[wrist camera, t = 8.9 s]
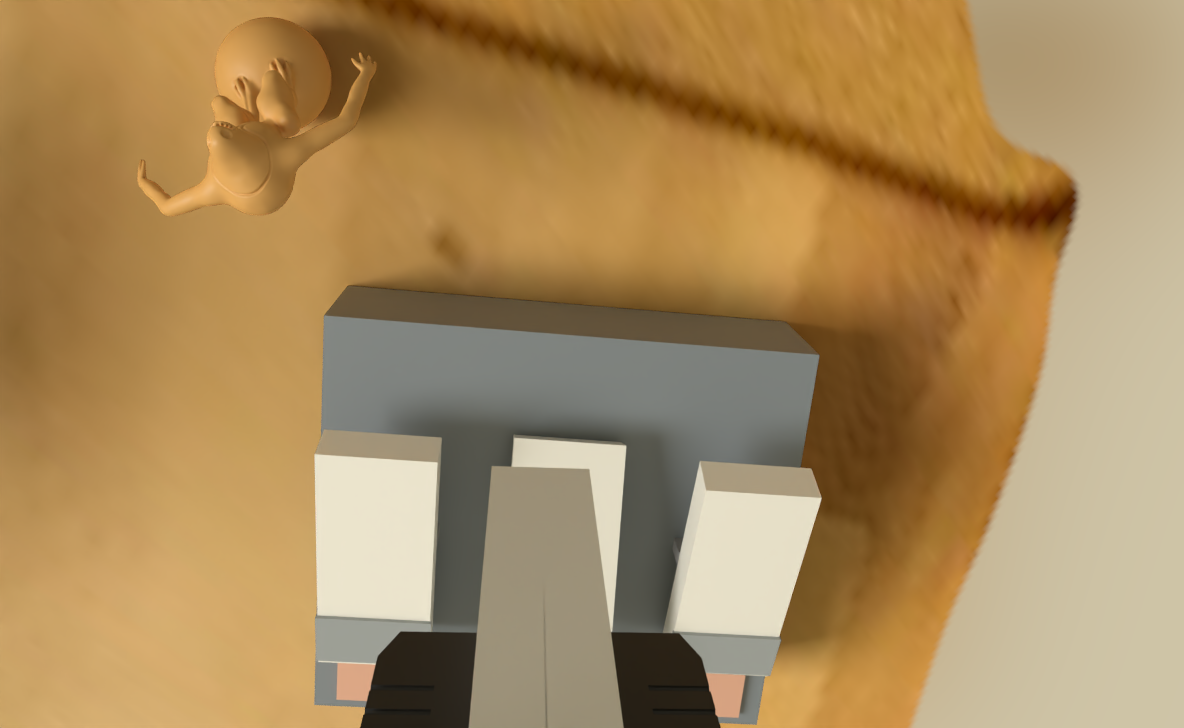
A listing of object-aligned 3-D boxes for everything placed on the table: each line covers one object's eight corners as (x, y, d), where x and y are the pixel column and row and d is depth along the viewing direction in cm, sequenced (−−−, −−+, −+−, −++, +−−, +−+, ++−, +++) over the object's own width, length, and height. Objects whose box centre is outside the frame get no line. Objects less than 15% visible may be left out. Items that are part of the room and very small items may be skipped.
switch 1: (322, 429, 34) (312, 456, 32) (443, 437, 34) (438, 465, 33) (325, 631, 38) (316, 664, 36) (433, 637, 38) (428, 670, 37)
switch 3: (698, 460, 35) (705, 493, 33) (812, 468, 35) (824, 501, 34) (659, 639, 40) (664, 674, 38) (760, 644, 40) (768, 679, 38)
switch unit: (347, 285, 40) (317, 323, 34) (785, 321, 42) (829, 364, 36) (336, 640, 44) (308, 729, 38) (731, 660, 46) (762, 748, 40)
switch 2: (512, 434, 37) (512, 437, 35) (622, 442, 37) (628, 446, 35) (493, 678, 37) (493, 693, 35) (603, 683, 37) (609, 699, 35)
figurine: (359, -25, 37) (284, -66, 25) (435, 127, 38) (397, 154, 27) (161, 73, 37) (-1, 77, 26) (244, 219, 39) (127, 283, 27)
